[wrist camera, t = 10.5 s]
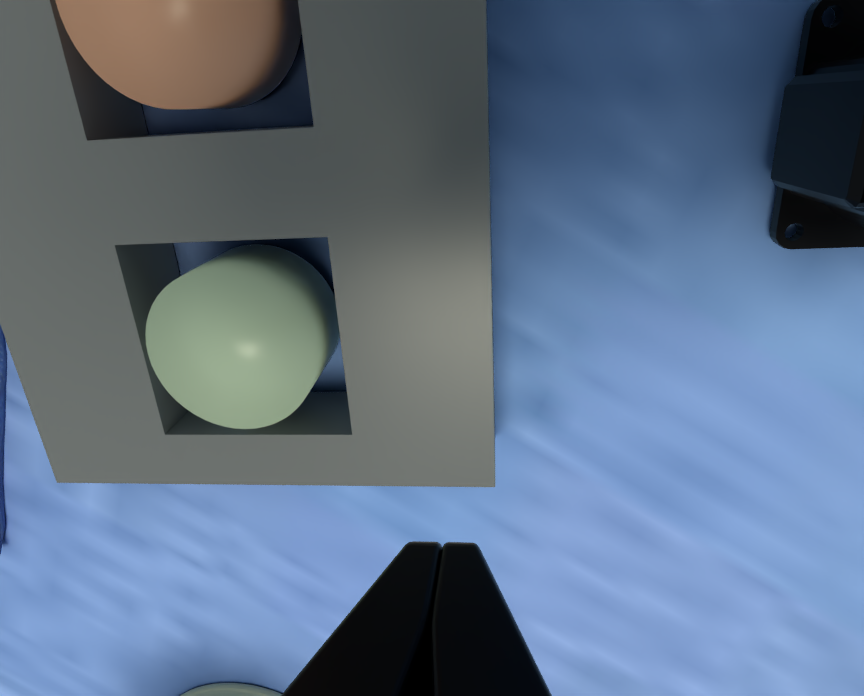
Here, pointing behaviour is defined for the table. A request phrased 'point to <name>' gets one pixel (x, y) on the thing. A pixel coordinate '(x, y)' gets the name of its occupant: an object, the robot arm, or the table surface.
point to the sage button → (243, 336)
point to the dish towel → (2, 426)
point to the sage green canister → (230, 690)
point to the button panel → (255, 220)
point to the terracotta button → (186, 48)
